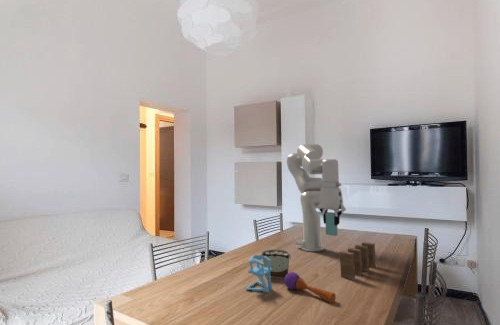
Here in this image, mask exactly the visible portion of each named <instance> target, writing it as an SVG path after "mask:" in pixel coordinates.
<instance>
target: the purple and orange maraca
mask: <svg viewBox="0 0 500 325" xmlns="http://www.w3.org/2000/svg"><path fill="white" fill-rule="evenodd" d="M283 281H284V285H285V286H286V287H287V288H288V289H289V290H298V291H300V290H301V291H302V290H308V291H310V292H312V293H313V294H315V295H317V296H319V298H321V299H323V300H325V301H327V302H328V303H329V304H333V303H334V302H335V301H336V296H337V295H336V293H335V292H331V291H328V290H324V289H321V288H317V287H315V286H314V287H313V286H310V285H308V284H307V282H305V281H304V279H303V278H302V277H300V275H299V274H298V273H296V272H293V271H290V272H288V274H287V275H286V276H285V278H284V280H283Z"/></svg>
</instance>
